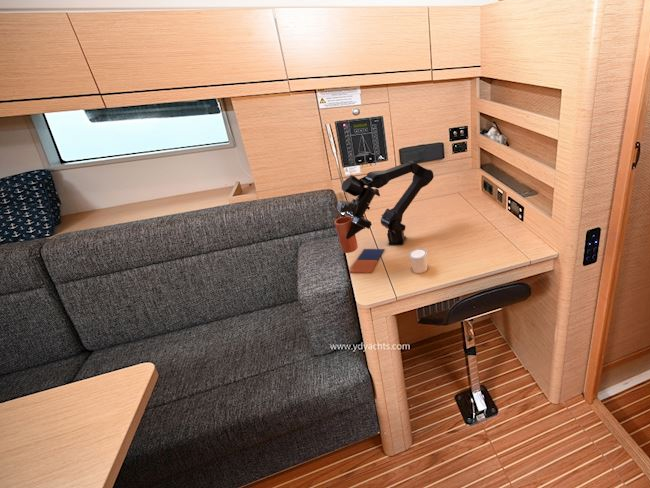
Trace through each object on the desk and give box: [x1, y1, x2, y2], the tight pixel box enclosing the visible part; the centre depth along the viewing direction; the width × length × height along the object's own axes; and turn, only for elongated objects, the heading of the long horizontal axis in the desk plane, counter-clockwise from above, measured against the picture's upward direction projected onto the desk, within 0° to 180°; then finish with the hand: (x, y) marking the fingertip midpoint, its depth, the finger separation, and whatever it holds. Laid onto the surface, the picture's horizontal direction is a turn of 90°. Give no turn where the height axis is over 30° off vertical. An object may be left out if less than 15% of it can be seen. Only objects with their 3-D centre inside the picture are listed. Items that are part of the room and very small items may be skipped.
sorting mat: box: [349, 248, 385, 274], centre depth 138 cm, size 9×16×1 cm, turn 172°
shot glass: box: [408, 248, 428, 274], centre depth 128 cm, size 7×7×7 cm
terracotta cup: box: [334, 216, 359, 254], centre depth 133 cm, size 6×6×13 cm
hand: (343, 235), depth 132 cm, fingers closed on terracotta cup, 6 cm apart
